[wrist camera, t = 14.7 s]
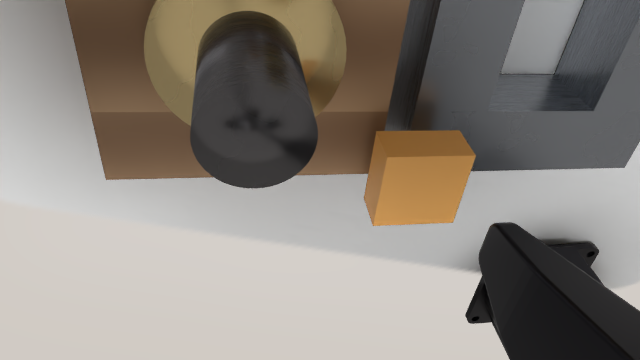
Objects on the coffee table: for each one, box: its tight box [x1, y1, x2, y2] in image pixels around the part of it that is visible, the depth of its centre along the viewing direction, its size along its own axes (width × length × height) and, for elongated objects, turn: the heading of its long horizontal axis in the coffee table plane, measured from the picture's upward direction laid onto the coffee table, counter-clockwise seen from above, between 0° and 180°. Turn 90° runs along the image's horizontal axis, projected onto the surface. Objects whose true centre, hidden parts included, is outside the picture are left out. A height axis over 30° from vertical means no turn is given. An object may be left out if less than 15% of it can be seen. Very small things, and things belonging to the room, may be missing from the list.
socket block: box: [384, 0, 640, 171], centre depth 19 cm, size 10×10×3 cm
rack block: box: [65, 0, 410, 180], centre depth 17 cm, size 10×10×3 cm
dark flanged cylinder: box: [144, 0, 347, 188], centre depth 15 cm, size 6×6×8 cm
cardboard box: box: [364, 130, 476, 226], centre depth 18 cm, size 3×3×2 cm
